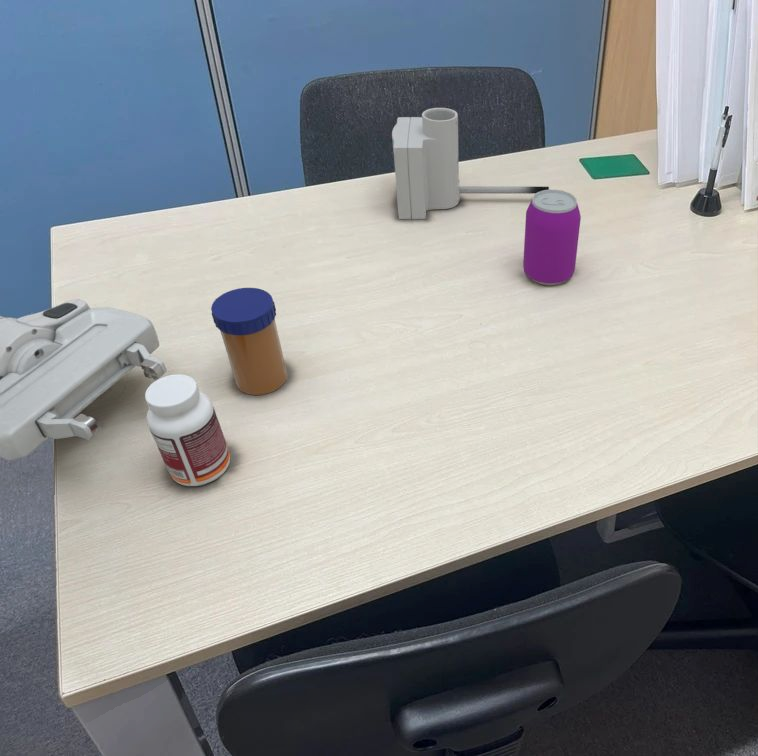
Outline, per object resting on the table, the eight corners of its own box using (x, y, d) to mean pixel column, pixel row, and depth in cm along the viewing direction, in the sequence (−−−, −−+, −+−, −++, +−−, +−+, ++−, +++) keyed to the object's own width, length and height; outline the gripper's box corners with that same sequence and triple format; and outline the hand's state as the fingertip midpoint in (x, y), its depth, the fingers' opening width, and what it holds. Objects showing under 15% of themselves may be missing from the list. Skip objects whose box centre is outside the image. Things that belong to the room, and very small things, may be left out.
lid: (233, 343, 76) (229, 330, 74) (203, 316, 79) (199, 303, 78) (287, 318, 79) (284, 305, 78) (256, 293, 83) (253, 280, 81)
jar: (252, 402, 82) (232, 330, 75) (226, 377, 85) (204, 306, 78) (297, 379, 85) (281, 308, 78) (270, 356, 88) (253, 285, 81)
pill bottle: (233, 441, 77) (208, 365, 70) (229, 483, 73) (202, 407, 66) (173, 449, 76) (141, 372, 69) (166, 492, 72) (131, 416, 64)
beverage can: (575, 262, 107) (584, 189, 99) (572, 290, 101) (580, 215, 93) (526, 257, 108) (530, 184, 100) (519, 285, 102) (523, 210, 94)
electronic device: (398, 185, 124) (392, 99, 114) (544, 185, 126) (550, 101, 116) (394, 219, 115) (387, 129, 105) (551, 219, 117) (558, 130, 107)
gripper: (-83, 405, 66) (30, 447, 62) (87, 290, 80) (186, 319, 77) (-50, 450, 70) (58, 492, 66) (106, 333, 84) (201, 363, 81)
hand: (128, 398), depth 72 cm, fingers open, 8 cm apart
